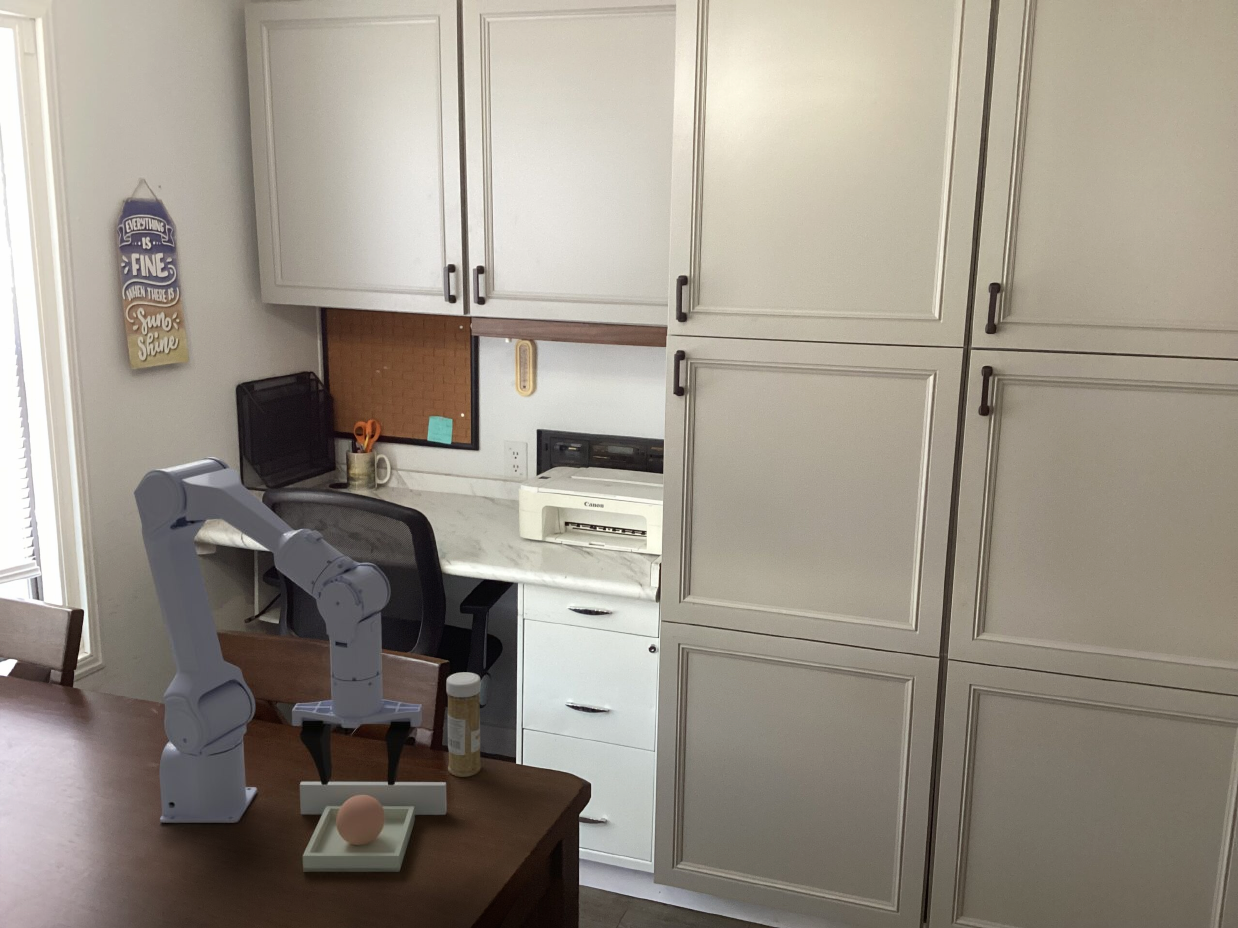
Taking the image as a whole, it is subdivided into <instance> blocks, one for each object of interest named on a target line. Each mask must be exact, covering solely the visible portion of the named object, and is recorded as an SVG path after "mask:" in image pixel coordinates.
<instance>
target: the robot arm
mask: <svg viewBox="0 0 1238 928" xmlns="http://www.w3.org/2000/svg"><path fill="white" fill-rule="evenodd" d="M241 478H242V477H241V474H240V472H239V471H238V470H236V469H233V468H232V467H230V465H228V463H226V462H225V461H224V460H222V459H220V458H218V457H214V456H210V457H209V456H208V457H205V458H201V460H196V461H191V462H188V463H184V464H180V465H173V466H170V467H165V468H156V469H152V470H150V471H147V472H146V473H145V475H144V476H143V477H142V479H141V481H139V484H138V485H137V487H136V489H134V491H133V494H134V499H135V503H136V507H137V511H138V514H139V519H140V522H141V535H142V540H143V545H144V548H145V552H146V556H147V560H148V563H149V567H150V572H151V576H152V579H153V580H152V581H153V583H154V587H155V592H156V595H157V599H158V603H159V607H160V611H161V615H162V619H163V622H164V623H163V624H164V626H165V631H166V634H167V639H168V643H169V647H170V651H171V654H172V659H173V663H174V666H175V669H176V670H175V671H176V674H175V676H174V678H173V679H172V681H171V682H170V684H169V686H168V687H167V689H166V691H164V694H163V696H162V699H163V700H162V701H163V703H164V708H165V709H164V710H165V711H164V720H163V724H164V725H163V726H164V731H165V735H166V736H167V738H168V740H169V741H168V742H167V743H166V744H165V746H164V748H163V750H162V754H161V758H160V762H159V763H160V764H159V785H160V798H161V799H160V801H161V816H160V818H159V822H160V823H165V824H166V823H168V824H169V823H177V824H178V823H179V824H180V823H187V824H188V823H193V824H194V823H197V824H198V823H199V824H200V823H201V824H202V823H205V824H206V823H208V824H210V823H211V824H213V823H214V824H215V823H218V824H220V823H221V824H223V823H224V824H226V823H227V824H229V823H230V824H231V823H232V824H235V823H238V822H239V821H240V820H241V818H242V816H243V814H244V813H245V812H246V811H247V808H248V807H249V805H250V803H251V802H252V800H253V798H254V797H255V795H256V794H257V792H258V789H257V787H255V786H252V787H251V786H247V785H246V769H245V748H244V746H245V745H244V735H245V734H246V733H247V731H248V730H247V724H248V723H249V722H251V721H252V719H253V717H254V715H255V713H256V699H255V697H254V695H253V694H254V693H252V691H251V689H250V687H249V686H248V685H247V683H246V681H245V679H244V676H243V672H242V669H241V668H240V667H238V666H237V665H234V664H232V663H230V662H227V661H225V660H224V656H223V652H222V648H221V645H220V641H219V640H220V639H219V637H218V633H217V628H216V625H215V621H214V615H213V612H212V609H211V604H210V601H209V596H208V593H207V588H206V584H205V581H204V576H203V572H202V569H201V564H200V560H199V555H198V552H197V547H196V544H195V538H196V536H197V535H198V534H199V532H200V530H201V529H202V527H203V526H204V524H205V523H206V522H207V520H222V521H223V522H225V523H227V524H228V525H230V526H231V527H233V528H234V529H236V530H237V531H239V533H242V534H243V535H245V536H247V537H248V538H250V539H252V540H253V541H254V542H256V543H257V544H259V545H260V546H262V547H263V548H265V549H267V550H268V551H269V552H271V553H273V562H274V566H275V568H276V569H277V570H278V571H279V572H280V573H281V574H283V575H284V576H286V577H287V578H288V579H290V580H291V581H292V582H293V583H294V584H296V585H297V586H298V587H300V588H301V589H303V590H304V591H305V592H306V593H307V594H308V595H310V596H312V597H313V598H314V599H315V600H316V606H317V609H318V612H319V614H320V616H321V617H322V619H323V620H324V623H325V626H326V629H325V630H326V635H328V638H329V653H330V655H329V657H330V685H331V686H330V687H331V690H330V693H331V694H330V695H331V699H329V700H322V701H314V702H301V703H299V702H297V703H296V704H295V705H294V707H292V710H291V721H292V726H293V727H300V726H301V731H300V733H299V737H300V741H301V743H303V745H304V746H305V747H306V749H307V752H309V754H310V756H311V758H312V760H313V762H314V764H315V767H316V770H317V772H318V776H319V779H320V782H321V784H322V785H327V784H328V782H330V780H331V778H332V775H333V774H332V771H333V769H332V767H333V766H332V754H331V753H332V752H331V731H332V725H333V724H337V725H338V724H339V725H341V728H345V729H356V728H359V727H361V725H389V727H388V729H387V732H386V734H385V743H386V751H387V760H388V761H387V764H388V765H387V776H386V777H387V782H388V785H394V784H395V782H397V781H396V780H397V778H398V770H399V764H400V760H401V756H402V752H403V749H404V746H405V744H406V742H407V739H408V738H409V735H410V732H411V731H412V728H414V727H415V728H417V727H418V728H419V727H421V725H422V721H423V705H422V703H421V704H419V703H407V702H400V701H396V700H390V699H384V695H383V692H384V691H383V655H382V653H383V651H382V647H383V646H382V644H383V643H382V612H381V610H382V609H384V608H385V607H386V606H387V604H388V603H389V601H390V598H391V592H392V591H391V585H390V581H389V579H388V577H387V576H386V574H385V573H384V572H383V571H382V570H381V568H379V566H378V565H376V564H374V563H371V562H358V561H356V560H353V559H352V558H351V557H349V556H347V555H344V553H342V552H340V551H339V549H338V550H337V548H335V547H334V546H333V545H332V544H330V543H329V542H327V541H326V540H325V539H323V538H324V535H323V534H322V533H321V532H319V531H318V530H317V529H315V530H311V529H309V528H300V529H297V530H296V529H293V528H292V527H291V526H290V525H289V524H287V523H286V521H284V520H283V518H280V517H279V516H278V515H277V514H276V513H275V512H274V511H273V510H271V509H270V508H269V507H268V506H267V505H266V504H265V503H264V502H262V501H261V500H260V499H259V498H258V497H257V496H256V495H255V494H253V492H251V491H250V490H249V489H248V488H246V487H245V486H244V484H243V483H242V479H241Z"/></svg>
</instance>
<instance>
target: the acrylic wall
mask: <svg viewBox="0 0 1238 928" xmlns="http://www.w3.org/2000/svg"><path fill="white" fill-rule="evenodd" d="M299 783H300V784H299V803H300V807H299V808H300V815H322V814H323V812H324V810H325V808H326V806H342V805H343V803H344V802H345V801H347V800H348V799H350V798H351V797H354V796H357V795H368V796H371V797H373V798H375V799H376V800H378V801H379V803H380V804H381V805H382V806H415V816H417V815H419V816H420V815H421V816H424V815H427V816H428V815H433V816H438V815H439V816H441V815H442V816H444V815H445V816H446V814H447V782H443V781H440V782H439V781H438V782H437V781H436V782H435V781H434V782H433V781H420V782H419V781H395V784H394V785H388V781H329V782H328V784H327V785H322V784H321V781H300V782H299Z"/></svg>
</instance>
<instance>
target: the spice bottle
mask: <svg viewBox="0 0 1238 928" xmlns="http://www.w3.org/2000/svg"><path fill="white" fill-rule="evenodd" d="M481 679H482V678H481V677H480V675H478V674H477V673H474V672H468V671H467V672H464V671H463V672H456V673H453V674H450V675H448V677H447V678H446V683H445V684H446V685H445V686H446V689H445V690H446V694H447V748H448V766H447V770H448V772H449V773H450V774H452V775H453V776H455V777H461V778H465V777H471V776H474V775H476V774H478V773H479V772H480V771H481V768H482V765H481V714H480V693H481V691H482V689H481V687H482V686H481V685H482V684H481V683H482V682H481V681H482V680H481Z"/></svg>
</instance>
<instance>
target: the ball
mask: <svg viewBox="0 0 1238 928" xmlns="http://www.w3.org/2000/svg"><path fill="white" fill-rule="evenodd" d="M384 823H385V813H384V809H383V807H382V805H381V804H380V803H379V801H378V800H376V799H375V798H373V797H371V796H368V795H357V796H354V797H351V798H350V799H348V800H347V801H345V802H344V803H343V805H342V806H341V807H340V809H339V811H338V814H337V818H336V826H337V830H338V832H339V834H340V836H341V837H342V838H343V839H344V840H345V841H347V842H348V843H351V844H354V845H363V844H367V843H369V842H371V841H373V840H374V839H375V838H376V837H377V836H378V835H379V834H380V833H381V831H382V829H383V827H384Z"/></svg>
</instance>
